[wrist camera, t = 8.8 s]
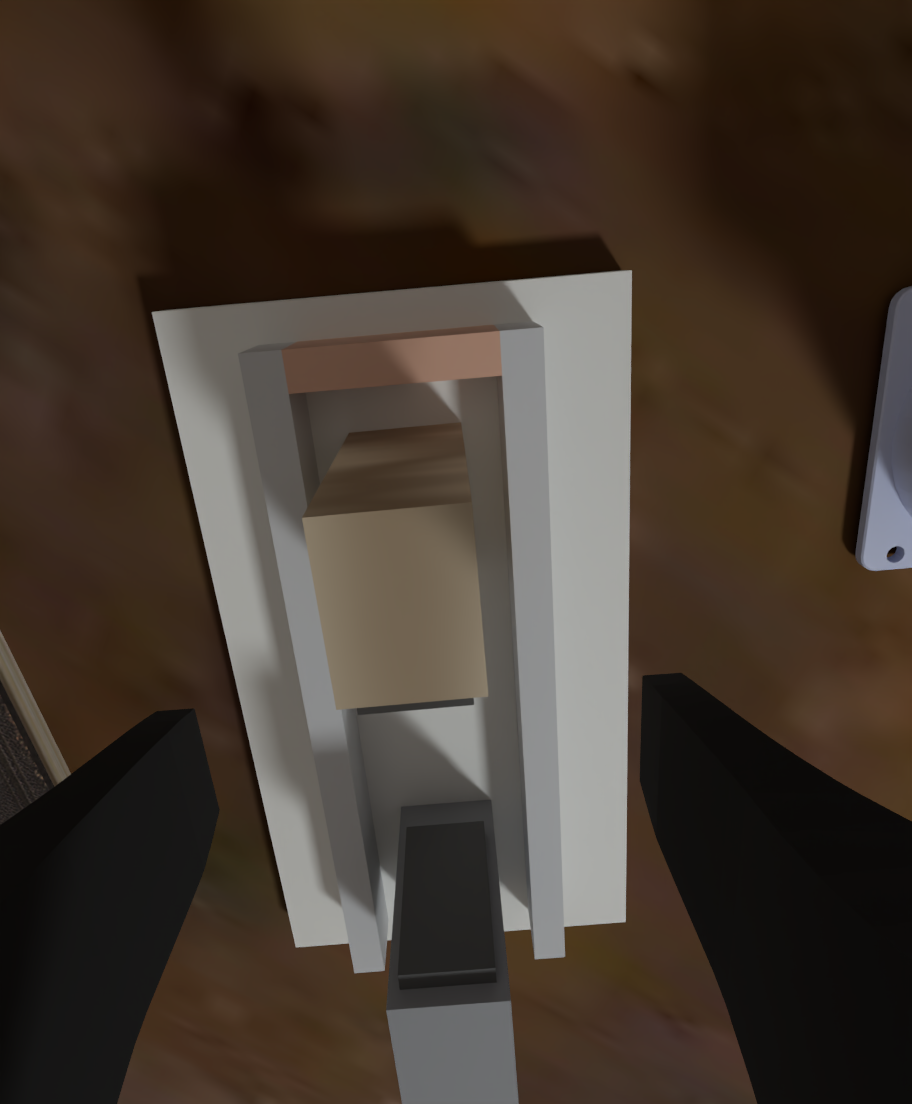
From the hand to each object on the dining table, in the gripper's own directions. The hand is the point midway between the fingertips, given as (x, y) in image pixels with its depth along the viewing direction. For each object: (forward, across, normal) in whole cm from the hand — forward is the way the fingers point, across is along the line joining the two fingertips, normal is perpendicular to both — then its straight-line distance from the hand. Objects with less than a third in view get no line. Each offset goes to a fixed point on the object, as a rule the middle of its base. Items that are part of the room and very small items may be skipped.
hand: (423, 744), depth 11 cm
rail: (+10, 0, +4) cm, 11 cm away
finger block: (+9, 0, -1) cm, 9 cm away
